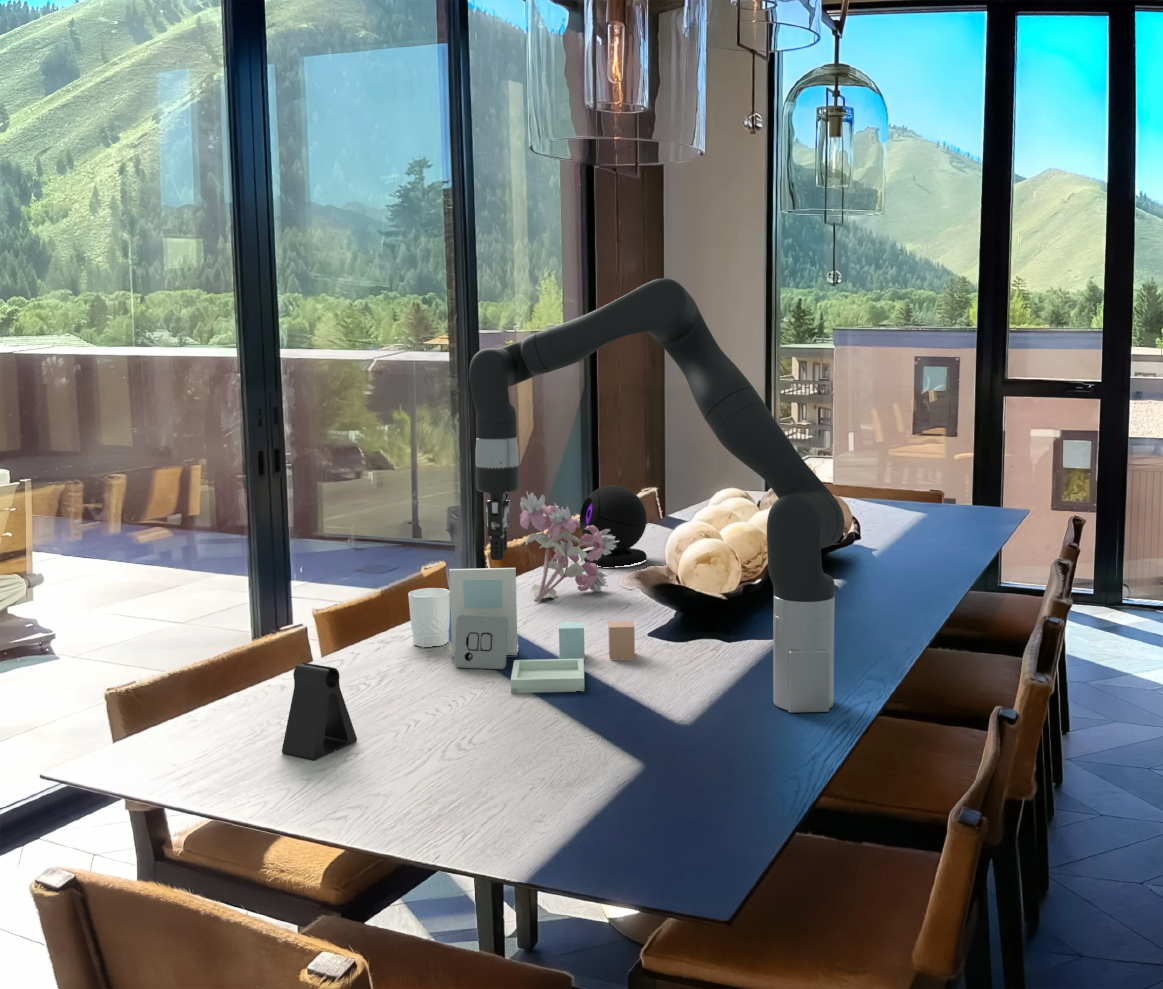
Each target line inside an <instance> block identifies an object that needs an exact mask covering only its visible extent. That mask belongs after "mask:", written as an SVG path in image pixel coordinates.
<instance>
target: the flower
mask: <svg viewBox="0 0 1163 989" xmlns="http://www.w3.org/2000/svg"><path fill="white" fill-rule="evenodd" d="M525 492H526V495H527V498H526V496H522V497H520V502H519V506H520V509H521V511H522V512H521V513H520V515H519V520H520V522H519V525H520V526H521V527H522V528H523V529H525V530H527V531H528V530H529V526H530V522H531V524H532V526H533V527H534V529H536V530H537V531H539V532H541V533H537V532H533V533H531V534H529V535H528V536H527V538H526V539H525V546H527V545H528V543H532V542H534V541H536V542H537V543H538V544H540V546H539V548H538V550H539V549H541V548H544V549H545V552H544V553H545V556H544V563H543V565H542V566H541V568H543V573H542V579H541V583H540V584H537V583H534V584H532V586H531V592H532V594H533V596H535V599H534V600H533V601H534V603H535V602H537V603H539V602H541V600H542V599H547V598H548V599H552V600H553V599H556V596H557V590H556V589H554V588H556V587H557V586H558V585H559V584H560V583H561V581H563V580H565V578H574V577H575V578H574V581H575V582H576V584H577V590H578V591H579V592H585V591H588V590H591V591H594V592H595V593H600V592H602V591H603V588H602V587H604V586H605V587H609V584H607V583H608V582H607V578H604V577H608V575H607V574H605V573H603V572H602V571H599V568H598V567H597V565H596V564H595V563H588V562H585V563H584V558H586V559H588V560H589V561H593V560H598V559H599V558H600V557H601V555H602V553H603V554H604V555H608V554H611V552H610V551H609V549H610V550H613V549H614V548H617V547H616V545H617V544H616V545H613V544H615V543H617V542H619V541H615V540H614V538H615V537H616V536H613V535H610V534H609V535H606V534H607V533H608V532H609V531H610V529H605V530H602V531H601V532H599V530H598V528H596V527H595V526H593V525H592V526H587V527H586V528H585V529H586V530H589V531H590V532H591V533H592V534H593V535H591V534H586V533H585V534H584V535H583V534H582V535H581V537H580V538H579V537H577V536H575V535H573V534H574V533H575V532H576V529H580V520H579V519H577V518H576V519H575V518H572V515H571V510H570V508H569V507H568V505H566V508H565V509H564V506H561V508H559V507H560V506H559V505H557V503H556V502H554V503H553V504H554V505H548V506H547V505H546V504H545V502H546V496H545V495H544V494H541V496H540V498H539V499H538V498H537V496H536V495H535V493H534V491H532V492H531V493H529V491H528V490H526V491H525ZM545 530H547V532H546V533H544V531H545ZM609 539H611V540H609ZM615 539H616V538H615ZM563 540H564V541H563ZM559 542H560V543H559ZM573 542H577V543H578V545H577V546H574V544H573ZM582 546H583V547H586V548H592V550H591V549H590V550H591V552H589V553H588V554H587V553H586V552H585V551H586V550H582V549H581V547H582ZM550 548H554V549H553V552H554V553H555V554H554V555H553V557H551V560H550ZM569 559H570V560H571V561H573V564H570V565H569ZM579 560H580V563H582V562H583V564H582V565H581V564H579V562H578V561H579ZM549 569H550V570H551V569H552V570H554V573H553V574H552V575H551V576H550V579H549V580H548V581H547V577H548V571H549ZM564 569H565V570H564ZM584 573H585V574H584ZM558 575H559V576H560V578H559V579H558V580H557V581H556V582H555V583H554V581H555V580H556V578H557V577H558ZM546 581H547V582H546ZM553 583H554V584H553Z"/></svg>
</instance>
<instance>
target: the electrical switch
mask: <svg viewBox="0 0 1163 989" xmlns="http://www.w3.org/2000/svg"><path fill="white" fill-rule="evenodd" d="M507 627H508V618H507V617H506V616H484V615H459V616H458V617H457V622H456V640H455V657H453V658H454V660H453V661H454V662H453V664H454V666H455V667H456V668H459V669H478V670H479V669H481V670H483V669H485V670H504V669H505V668H506V667H507V656H506V649H507ZM470 654H471V655H472V657H468V656H469V655H470Z"/></svg>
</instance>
